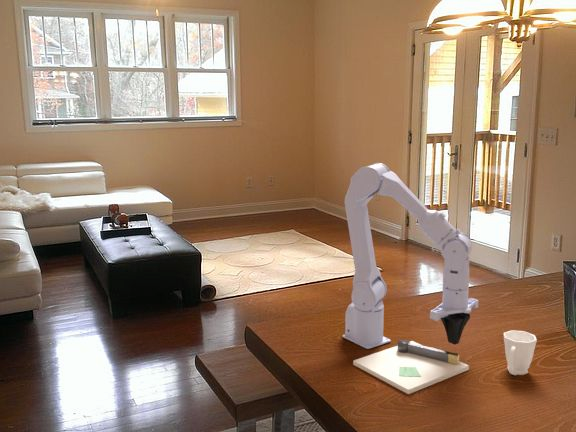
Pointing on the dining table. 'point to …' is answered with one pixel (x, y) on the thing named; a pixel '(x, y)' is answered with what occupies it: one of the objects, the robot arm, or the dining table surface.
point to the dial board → (408, 369)
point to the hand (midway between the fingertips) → (453, 342)
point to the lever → (428, 352)
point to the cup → (519, 351)
